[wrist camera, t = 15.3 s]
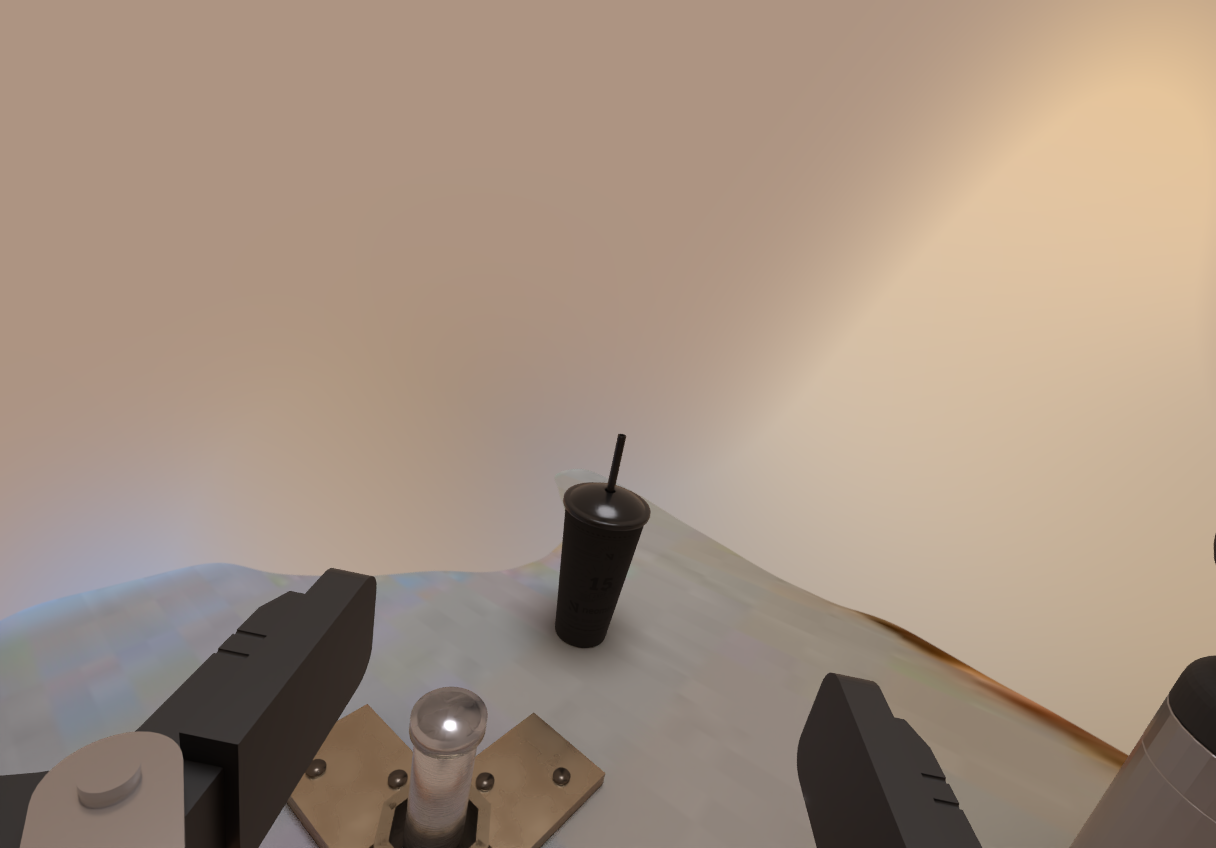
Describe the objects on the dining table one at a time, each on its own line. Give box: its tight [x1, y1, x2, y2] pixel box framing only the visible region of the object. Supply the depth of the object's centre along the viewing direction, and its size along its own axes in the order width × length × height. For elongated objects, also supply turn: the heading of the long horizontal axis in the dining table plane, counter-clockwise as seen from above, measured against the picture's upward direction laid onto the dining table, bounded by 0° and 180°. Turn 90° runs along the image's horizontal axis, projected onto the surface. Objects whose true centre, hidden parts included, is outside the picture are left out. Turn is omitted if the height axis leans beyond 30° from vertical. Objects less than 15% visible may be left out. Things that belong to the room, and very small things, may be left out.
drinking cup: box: [555, 434, 650, 648], centre depth 54 cm, size 8×8×20 cm
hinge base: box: [287, 704, 605, 848], centre depth 40 cm, size 16×16×4 cm
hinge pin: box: [403, 687, 487, 848], centre depth 33 cm, size 4×4×12 cm
